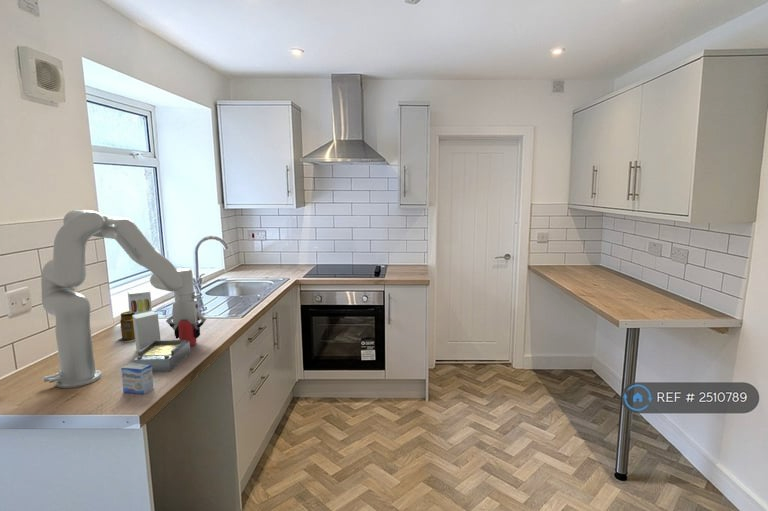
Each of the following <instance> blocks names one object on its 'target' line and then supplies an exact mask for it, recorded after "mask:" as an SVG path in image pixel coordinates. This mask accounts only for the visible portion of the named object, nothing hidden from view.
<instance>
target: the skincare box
mask: <svg viewBox="0 0 768 511" xmlns="http://www.w3.org/2000/svg"><path fill="white" fill-rule="evenodd" d="M132 317H133V325H134V333H135V340H134V342H135V347H136V349H135V350H136V351H137V352H138V353H139V351H140V350H142V349H143V348H145V347H146V346H147V345H149V344H150V343H152V342H153V341H154V340H162V339H161V332H160V331H161V330H160V322H159V314H158V313H157V312H155V311H154V310H152V311H150V312H146V313H141V314H136V315H132Z"/></svg>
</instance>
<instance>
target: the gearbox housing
mask: <svg viewBox="0 0 768 511" xmlns="http://www.w3.org/2000/svg"><path fill="white" fill-rule="evenodd" d="M190 354H191V346H190V341H186V340H179V339H161V340H154V341H153V342H152V343H150V344H149V345H147V346H146V347H145V348H143V349H142V350H140V351H139V352H138V356H137V357H136V358H134V359H133V363H136V364H148V365H152V373H166V372H167V373H170V372H172V371H173V370H174V369H175V368H176V367H177V366H178V365H179V364H180V363H182V361H184V360H185V359H186V358H187V356H189V355H190Z"/></svg>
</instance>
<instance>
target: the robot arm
mask: <svg viewBox="0 0 768 511" xmlns="http://www.w3.org/2000/svg"><path fill="white" fill-rule="evenodd" d="M62 222H63V224H62V226H61V227H60V228H59V229H58V230H57V233H56V234H55V237H54V241H53V254H52V257H53V258H52V259H51V260H49V261H48V262H45V264H44V266H43V268H42V271H41V278H40V279H41V281H40V282H41V283H40V284H41V303H42V307H43V309H44V311H46V313H47V314H49V315H52V316H54V317H55V331H54V332H55V340H56V345H57V355H58V361H59V368H60V369H58V372H55V373H54V374H49V375H45V376H43V382H44V383H47V382H49V383H50V384H51V383H55V385H56V386H57V387H58V388H61V389H73V388H77V387H81V386H86V385H89V384H91V383H93V382H96V381H98V380H99V379H100V378H101V377H102V371H101V370H99V369H96V365H95V355H94V348H93V347H94V346H93V340H92V339H93V338H92V333H91V332H92V329H91V311H92V310H91V309H92V308H91V303H90V300H88V298H87V297H86V296H85V295H84V294H82V293H80V292H78V291H77V292H76V291H75V290H76V288H79V287H80V286H81V285H82V284H83V283H84V282H85V280H86V277H87V276H86V275H87V274H86V268H87V267H86V250H87V248H86V247H87V244H88V241H89V240H90V239H91V238H92V237H96V238H103V239H110V240H112V239H113V240H115V241H116V242H117V243H118V245H119V246H120V247H121V248H122V249H123V251H124V252H125V253H126V254H127V255H128V257H130V259H131V260H132V262H135V263H136V264H137V265H139V266H141V267H143V268H145V269H146V270H148V271H150V272H151V273H152V275H151V276H150V278H149V282H150V284H151V286H152V287H154V288H155V289H158V290H161V291H167V292H170V293H171V292H172V293H173V295H174V296H173V297H174V301H173V303H172V307H171V308H172V310H171V311H172V312H171V313H172V314H171V316H170V317H168V318H167V319H166V320H165V321H166V323H167V324H168V325H169V327H170V328H172V330H174V331H173V332H174V337H175V340H179V330H178V324H179V322H180V320H186V319H188V321H189V322H190V323H191V324H193V325H194V327H195V330H194V332H195V338H196V339H198V338H199V337H200V336H201V327H202V326H203V325H204V324H205V322H206V320H207V318H206V317H204V316H203V315H202V314H201V313H200V307H199V302H198V300H197V298H198V294H195V291H194V289H195V288H194V277H193V270H192V269H190V268H188V267H187V268H185V267H183V268H176V267H175V266H174V265H173V263H172V262H171V261H170V260H169V259H167V258H166V257H165V256H164V255H163V254H161V252H159V251H158V250H157V249H156V248H155V247H154V246H153V245H152V244H151V242H150V241H149V240H148V238H147V237H146V236H145V235H144V234H143V232H142V231H141V230H140V228H139V227H138V226H137V225H136V224H135V222H134V221H133V220H131V219H130V218H128V217H123V216H122V217H121V216H110V215H104V214H101V213H100V212H98V211H95V210H90V209H74V210H73V209H72V210H69V211H68V212H67V213H66V214H65V215H64V217H63V220H62ZM199 321H200V322H199Z"/></svg>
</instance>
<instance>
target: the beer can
mask: <svg viewBox="0 0 768 511" xmlns="http://www.w3.org/2000/svg"><path fill="white" fill-rule="evenodd" d="M178 330H179V338H178V340H186V341H190V347H192V346H194V345H196V344H197V341H198V340H197V338H195V332H194V330H195V327H194V325H193V324H191V323H190V322H189V321H188V319H186V320H180V322H179V324H178Z"/></svg>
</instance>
